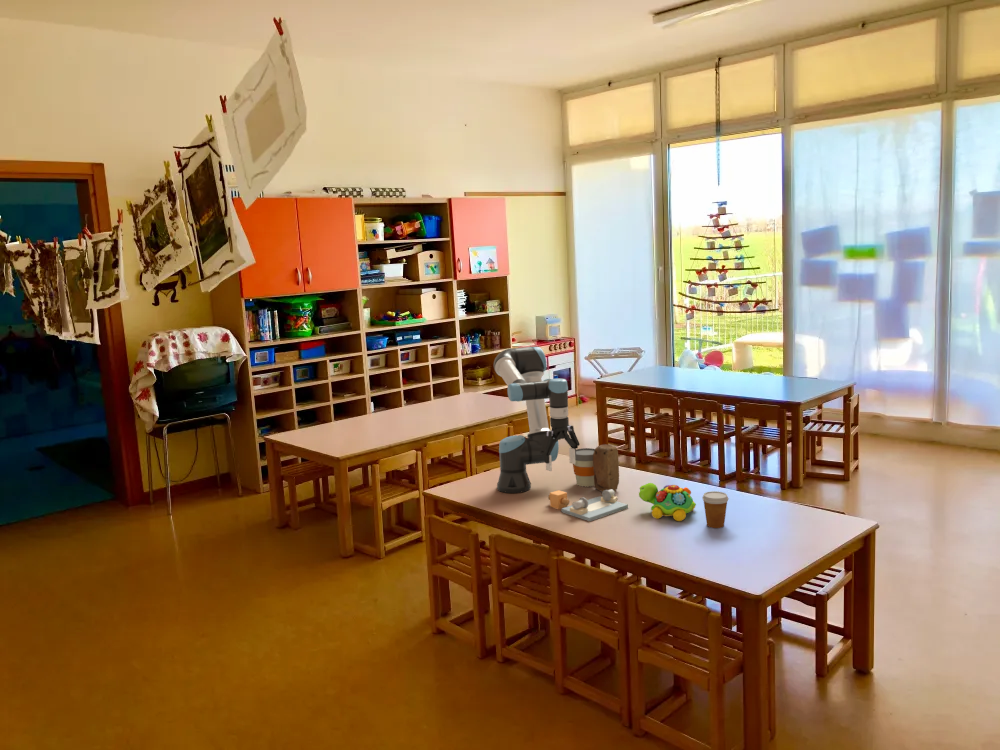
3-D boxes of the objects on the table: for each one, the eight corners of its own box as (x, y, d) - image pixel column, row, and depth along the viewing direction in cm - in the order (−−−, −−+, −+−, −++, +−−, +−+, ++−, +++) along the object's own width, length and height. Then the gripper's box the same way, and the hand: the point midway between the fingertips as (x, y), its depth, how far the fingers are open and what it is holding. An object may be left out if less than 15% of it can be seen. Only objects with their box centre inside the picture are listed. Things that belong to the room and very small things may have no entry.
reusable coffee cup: (567, 482, 363) (566, 450, 360) (590, 478, 368) (589, 446, 366) (582, 489, 351) (581, 456, 349) (606, 484, 357) (605, 452, 355)
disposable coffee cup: (716, 531, 294) (716, 500, 292) (697, 524, 302) (696, 494, 300) (734, 525, 299) (734, 495, 297) (714, 519, 307) (714, 489, 305)
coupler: (562, 510, 325) (562, 496, 324) (546, 505, 333) (545, 491, 332) (571, 507, 328) (571, 493, 327) (555, 502, 336) (554, 488, 335)
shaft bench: (561, 512, 324) (561, 496, 322) (601, 498, 338) (601, 483, 337) (589, 521, 311) (589, 504, 310) (630, 507, 325) (629, 491, 324)
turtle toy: (646, 503, 329) (646, 476, 327) (702, 510, 318) (702, 482, 316) (631, 516, 315) (631, 487, 313) (689, 524, 303) (689, 494, 301)
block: (621, 490, 347) (620, 446, 344) (609, 494, 343) (608, 449, 339) (603, 485, 356) (601, 442, 352) (591, 489, 351) (589, 445, 348)
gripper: (543, 423, 314) (545, 475, 317) (587, 412, 330) (588, 462, 333) (530, 420, 319) (532, 471, 323) (574, 410, 335) (575, 458, 339)
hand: (560, 467), depth 328 cm, fingers open, 13 cm apart
